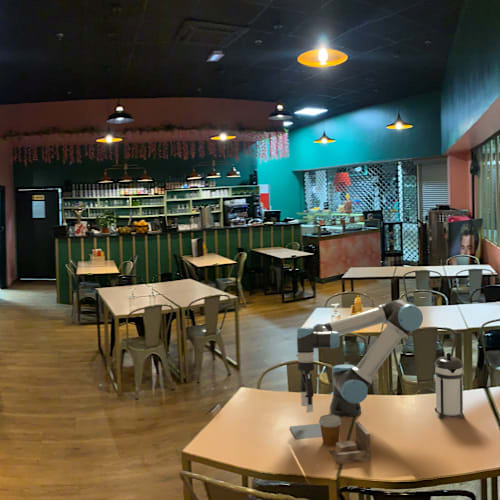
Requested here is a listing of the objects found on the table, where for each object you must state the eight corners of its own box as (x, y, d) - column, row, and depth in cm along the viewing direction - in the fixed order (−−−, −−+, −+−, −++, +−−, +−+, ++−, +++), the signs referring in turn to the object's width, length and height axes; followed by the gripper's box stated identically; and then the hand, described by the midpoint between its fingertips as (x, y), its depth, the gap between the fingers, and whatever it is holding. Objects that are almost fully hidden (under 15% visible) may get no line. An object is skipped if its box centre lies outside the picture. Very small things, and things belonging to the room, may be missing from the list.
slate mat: (319, 425, 257) (319, 423, 257) (327, 437, 243) (327, 435, 243) (289, 428, 255) (289, 426, 255) (296, 440, 241) (296, 439, 241)
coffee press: (474, 414, 261) (473, 352, 258) (453, 423, 252) (452, 359, 249) (443, 404, 275) (442, 345, 273) (422, 412, 266) (421, 351, 264)
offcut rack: (359, 449, 230) (359, 421, 229) (370, 463, 217) (370, 434, 216) (328, 452, 228) (327, 424, 227) (337, 467, 216) (336, 437, 214)
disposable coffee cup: (343, 442, 238) (343, 415, 237) (340, 451, 229) (339, 423, 228) (322, 439, 241) (321, 413, 240) (317, 449, 232) (316, 421, 231)
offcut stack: (354, 451, 226) (354, 439, 225) (359, 458, 220) (359, 445, 219) (335, 453, 225) (334, 441, 224) (339, 460, 219) (339, 448, 218)
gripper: (293, 358, 265) (294, 403, 263) (302, 364, 240) (303, 414, 238) (308, 358, 265) (310, 403, 263) (319, 364, 241) (320, 414, 239)
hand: (307, 408), depth 251 cm, fingers open, 13 cm apart
